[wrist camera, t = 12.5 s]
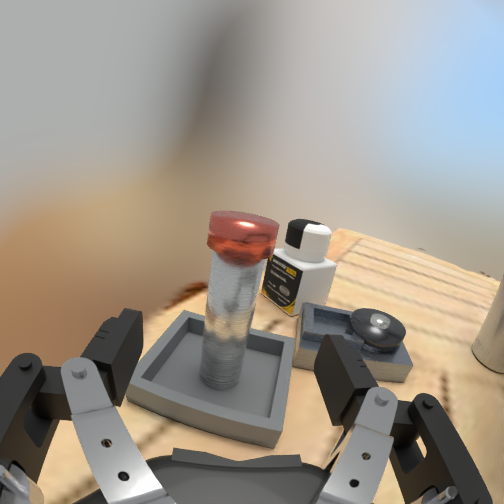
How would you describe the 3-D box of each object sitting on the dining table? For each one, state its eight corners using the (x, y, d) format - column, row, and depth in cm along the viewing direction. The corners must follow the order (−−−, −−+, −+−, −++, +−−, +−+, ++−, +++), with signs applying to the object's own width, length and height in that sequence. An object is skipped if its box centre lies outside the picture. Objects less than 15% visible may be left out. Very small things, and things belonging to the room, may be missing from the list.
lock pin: (249, 367, 24) (282, 220, 20) (238, 400, 20) (275, 233, 16) (203, 353, 25) (222, 208, 21) (185, 384, 21) (200, 217, 16)
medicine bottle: (259, 293, 41) (275, 214, 37) (294, 287, 45) (311, 216, 41) (290, 317, 36) (312, 230, 32) (325, 307, 40) (346, 230, 36)
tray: (289, 356, 28) (294, 338, 27) (274, 448, 16) (282, 431, 16) (182, 328, 29) (183, 309, 29) (127, 400, 18) (123, 380, 17)
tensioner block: (386, 335, 34) (398, 305, 32) (403, 382, 24) (422, 347, 23) (297, 318, 36) (306, 285, 34) (292, 366, 26) (305, 327, 25)
